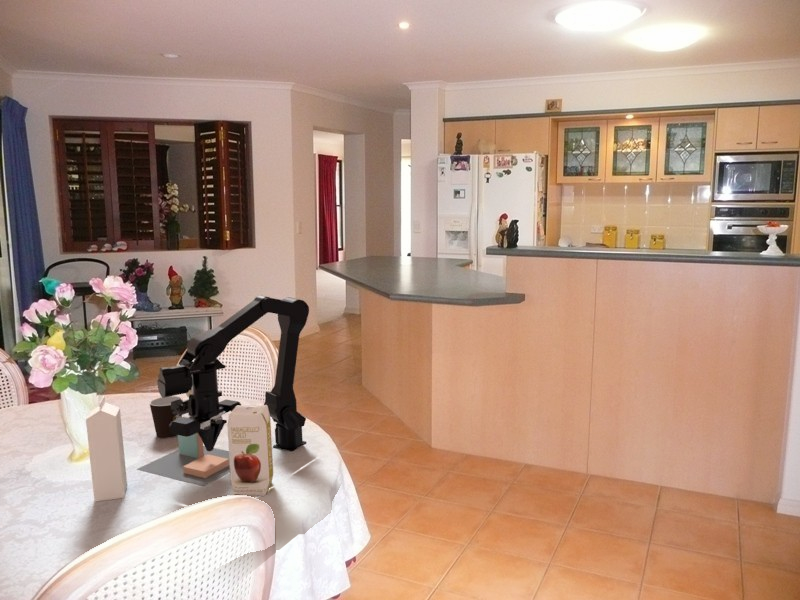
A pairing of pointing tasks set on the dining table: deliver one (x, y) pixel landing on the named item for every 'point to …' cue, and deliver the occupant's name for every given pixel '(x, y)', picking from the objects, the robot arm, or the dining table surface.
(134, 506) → the dining table surface
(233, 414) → the juice carton
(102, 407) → the milk
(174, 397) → the coffee mug
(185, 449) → the tile
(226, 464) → the tile
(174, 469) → the mat
